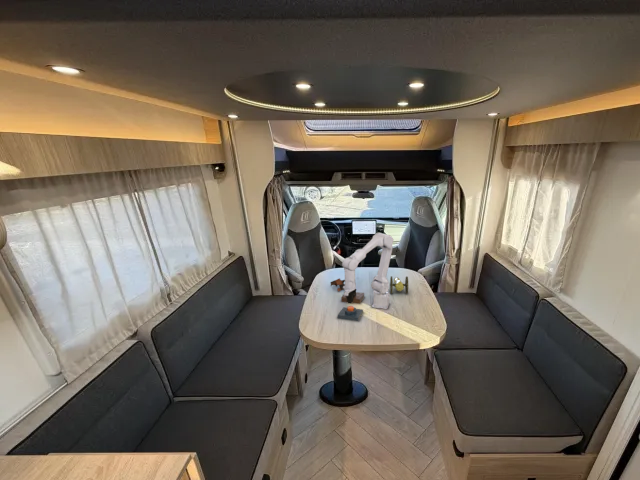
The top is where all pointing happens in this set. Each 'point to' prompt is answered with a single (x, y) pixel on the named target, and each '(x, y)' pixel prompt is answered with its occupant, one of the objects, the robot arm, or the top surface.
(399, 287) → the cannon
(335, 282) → the brown angular figurine
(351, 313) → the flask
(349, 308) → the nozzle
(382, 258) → the robot arm
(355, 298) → the base
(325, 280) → the top surface
